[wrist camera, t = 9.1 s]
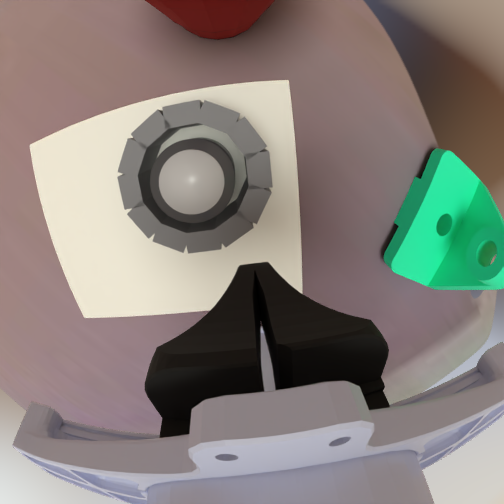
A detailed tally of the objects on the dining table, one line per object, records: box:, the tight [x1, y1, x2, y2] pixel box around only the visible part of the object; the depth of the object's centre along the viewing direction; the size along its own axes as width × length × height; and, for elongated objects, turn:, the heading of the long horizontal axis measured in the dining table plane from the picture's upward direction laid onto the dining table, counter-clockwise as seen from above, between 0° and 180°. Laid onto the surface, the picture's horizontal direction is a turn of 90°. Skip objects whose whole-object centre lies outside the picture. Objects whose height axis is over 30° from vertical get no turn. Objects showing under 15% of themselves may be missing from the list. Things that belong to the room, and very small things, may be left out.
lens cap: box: [150, 137, 235, 223], centre depth 17 cm, size 5×5×4 cm
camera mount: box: [384, 149, 504, 290], centre depth 17 cm, size 12×8×10 cm, turn 159°
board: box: [30, 80, 302, 318], centre depth 19 cm, size 18×22×4 cm
